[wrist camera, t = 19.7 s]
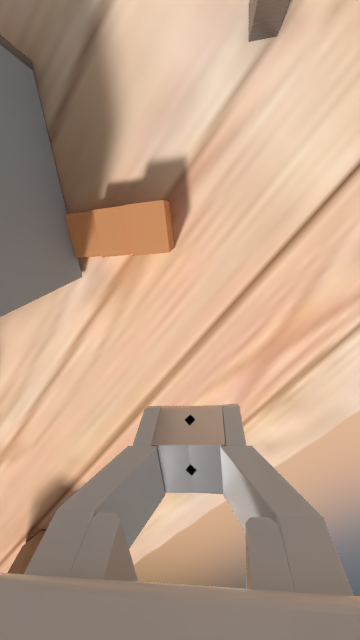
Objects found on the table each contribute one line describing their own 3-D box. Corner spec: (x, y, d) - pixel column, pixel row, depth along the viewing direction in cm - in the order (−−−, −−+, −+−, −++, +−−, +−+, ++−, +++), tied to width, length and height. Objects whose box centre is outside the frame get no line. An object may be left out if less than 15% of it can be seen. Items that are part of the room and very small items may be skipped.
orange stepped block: (169, 201, 29) (163, 199, 25) (174, 247, 31) (169, 252, 27) (70, 214, 30) (50, 214, 27) (80, 256, 32) (63, 262, 29)
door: (17, 58, 25) (-192, -108, 12) (30, 55, 25) (-168, -117, 12) (72, 277, 33) (-17, 318, 20) (83, 276, 33) (-1, 317, 20)
